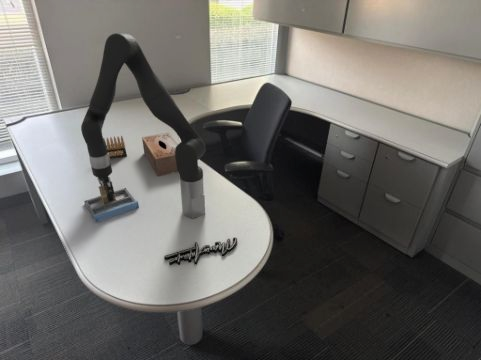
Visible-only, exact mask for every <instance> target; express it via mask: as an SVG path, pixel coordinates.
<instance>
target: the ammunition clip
mask: <svg viewBox="0 0 481 360" xmlns="http://www.w3.org/2000/svg"><path fill="white" fill-rule="evenodd" d="M103 139H104V140H105V139H106V140H105V141H106V146H107V150H108V154H109V157H110V160H112V159H119V158H125V157H126V158H127V157H128V154H127V150H126V144H125V141H124V137H123V135H120V136H119V135H117V137H116V136H114V137H113V138H112V136H110V138H108V137H106V138H104V137H103Z"/></svg>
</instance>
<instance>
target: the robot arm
mask: <svg viewBox="0 0 481 360" xmlns="http://www.w3.org/2000/svg"><path fill="white" fill-rule="evenodd" d="M124 65H126V67H127V68H128V69H129V71H130V72H131V73H132V75H133V76H134V79H135V81H136V84H137V87H138V91H139V93H140V96H141V98H142V101H143V102H144V104H145V106H146V107H147V108H148V110H149V111H150V112H151V114H152V115H153V117H155V118H156V119H158V120H159V121H161V122H162V123H163V124H165V125H167V126H168V127H169V128H171V129H172V130H173V131H174V132H175V134H176V135H177V137H178V138H179V139H180V142H179V143H177V144H178V145H177V146H176V149H175V159H176V166H177V171H178V172H177V173H178V175H179V184H180V186H179V187H180V199H181V209H182V213H183V215H185V216H186V217H189V218H191V219H196V218H197V217H200V216H203V215H205V214H206V201H205V199H206V198H205V192H204V191H205V190H204V189H205V187H204V170H203V168H202V167H201V166H200V165H199V163H198V162H199V160H200V159H201V158H202V157H203V156H204V154H205V152H206V144H205V141H204V140H203V139H202V137H201V136H200V135H199V134H198V132H197V131H196V130H195V128H193V126H192V124H190V122H189V121H188V120H187V118H186V117H185V115H184V114H183V112H182V111H181V109H180V108H179V106H178V105H177V103H176V101H175V100H174V99H173V97H172V96H171V93H170V92H169V91H168V89H167V88H166V86H165V85H164V84H163V82H162V80H161V79H160V78H159V76H158V74H157V73H156V72H155V71H154V69H153V67H152V66H151V64H150V63H149V61H148V59H147V56H146V55H145V53H144V52H143V50H142V47H141V46H140V44H139V42H138V41H137V39H136V38H135V37H134V36H133V35H131V34H129V33H121V32H120V33H119V32H116V33H112V34H110V35H109V36H108V37H107V38H106V40H105V43H104V48H103V53H102V60H101V66H100V69H99V74H98V78H97V82H96V84H95V86H94V87H95V88H94V90H93V93H92V95H91V98H90V101H89V105H88V109H87V110H86V112H85V116H84V118H83V120H82V123H81V125H80V129H81V134H82V137H83V140H84V142H85V144H86V147H87V153H88V156H89V157H88V158H89V164H90V167H91V171H92V175H93V176H94V177H95V178H97V181H98V183H99V185H100V186H103V189H104V190H105V191H106V194H107V198H108V201H109V202H111V201H113V200H114V198H113V194H114V191H115V189H114V185H113V182H112V181H111V177H109V176H111V174H112V173H113V168H112V164H111V163H112V161H111V159H110V157H109V153H108V150H107V149H108V148H107V146H106V145H107V141H106V140H104V139H105V138H104V137H103V132H102V131H103V130H102V129H103V126H104V123H105V120H106V117H107V114H108V113H109V112H110V110H111V107H112V104H113V102H114V99H115V97H116V91H117V80H118V77H119V74H120V71H121V70H122V68H123V66H124ZM103 138H104V139H103ZM104 186H106V187H104ZM113 189H114V190H113ZM110 190H111V191H110Z"/></svg>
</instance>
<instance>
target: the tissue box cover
mask: <svg viewBox="0 0 481 360" xmlns="http://www.w3.org/2000/svg"><path fill="white" fill-rule="evenodd" d="M141 139H142V141H141V142H142V146H143V147H142V148H143V154H144V156H145V157H146V159H147V160H148V162H149V164H150V166H151V167H152V170H153V171H154V173H155V174H156V176H157V177H161V175H162V176H165V175H170V174H175V173H178V171H177V166H176V159H175V149H176V146H177V145H178V144H179V143H178V142H177V141H176V140H175V139H174V137H173V136H172V135H171V134H170V133H169V132H164V133H163V132H162V133H157V134H154V135H153V134H152V135H148V136H142V137H141Z"/></svg>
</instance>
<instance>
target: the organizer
mask: <svg viewBox="0 0 481 360" xmlns="http://www.w3.org/2000/svg"><path fill="white" fill-rule="evenodd" d="M124 193H125V195H126V196H125V197H121V198H120V199H116V201H113V202H110V203H107V204H102V205H98V206H95V207H91V204H93V203H97V202H100V201H102V198H101V195H99V196H95V197H93V198H89V199H87V200H84V205H85V206H86V208H87V210H88V212H89V214H90V216H91V217H92V219H93V220H94V222H95V223H98V222H101V221H104V220H108V219H110V218H113V217H115V216H118V215H121V214H124V213H127V212H130V211H133V210H135V209H139V207H140V204H139V201H138V200H136V199H135V198H134V197H133V195H132V194H131V193H130V191H129V190H128V189H127V187H124V188H121V189H117V190H114V194H115V196H118V195H121V194H124ZM129 201H131V202H129ZM126 202H128V203H126ZM123 203H125V204H123ZM119 204H123V205H119ZM117 205H119V206H117ZM114 206H117V207H114ZM111 207H114V208H111ZM107 208H108V210H105V209H107ZM109 208H111V209H109ZM103 210H105V211H103ZM99 211H102V212H100V213H97V214H95V213H96V212H99Z"/></svg>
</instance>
